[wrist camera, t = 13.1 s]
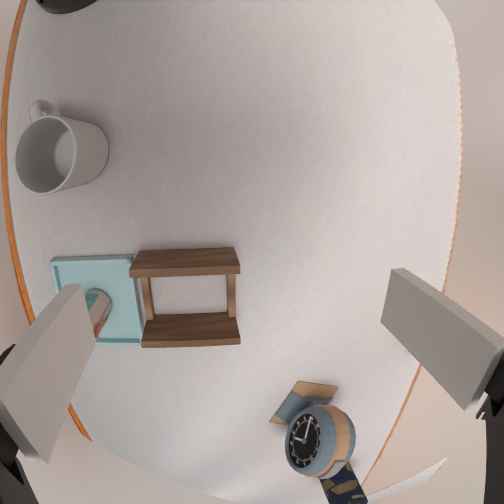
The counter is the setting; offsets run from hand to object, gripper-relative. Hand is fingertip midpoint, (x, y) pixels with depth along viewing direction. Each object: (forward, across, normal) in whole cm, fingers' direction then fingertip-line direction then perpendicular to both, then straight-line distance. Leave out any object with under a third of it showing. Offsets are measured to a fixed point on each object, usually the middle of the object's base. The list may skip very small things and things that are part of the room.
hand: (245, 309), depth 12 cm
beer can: (+28, -18, -14) cm, 36 cm away
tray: (+29, -18, -14) cm, 37 cm away
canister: (+29, +29, -72) cm, 83 cm away
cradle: (+29, -4, -12) cm, 31 cm away
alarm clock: (+29, +16, -40) cm, 52 cm away
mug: (+29, -19, +9) cm, 36 cm away
